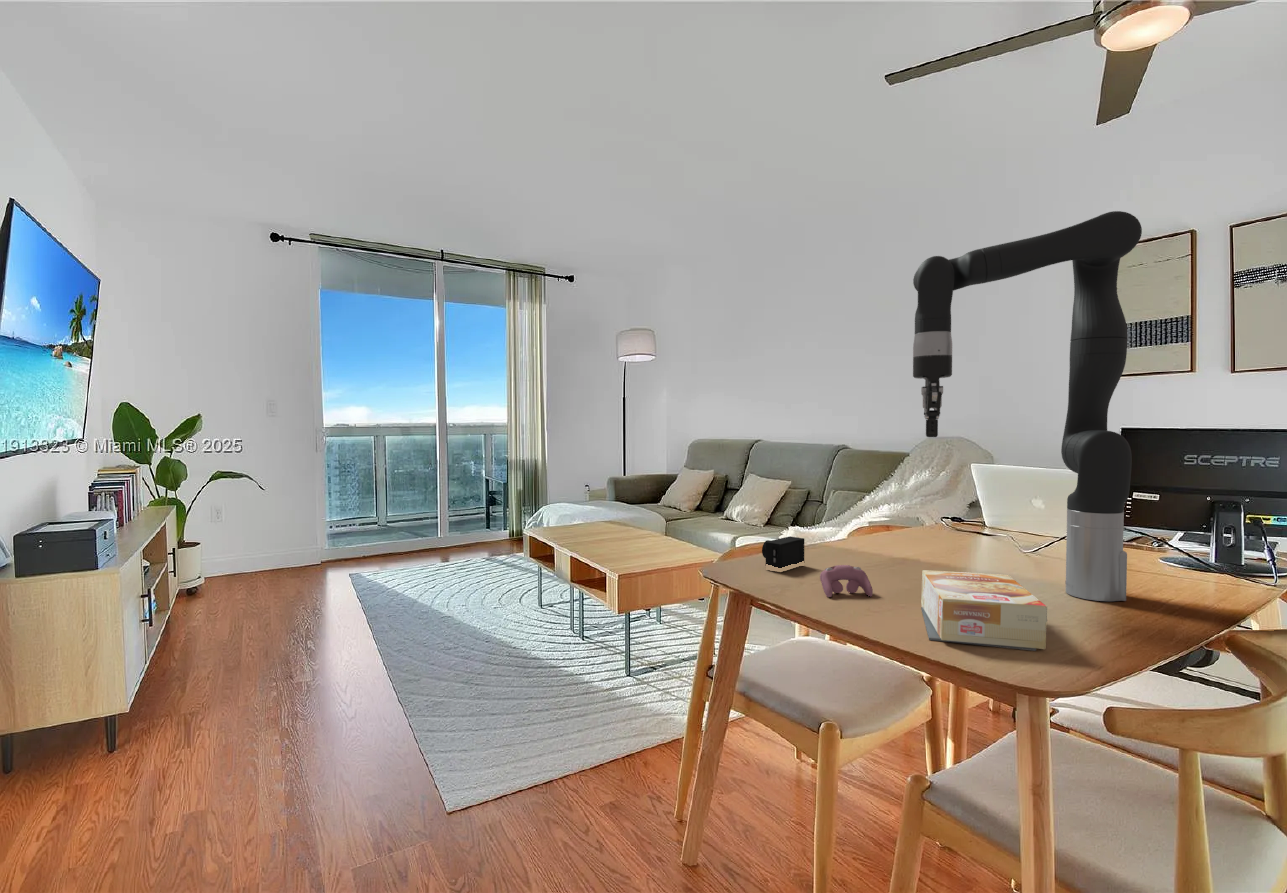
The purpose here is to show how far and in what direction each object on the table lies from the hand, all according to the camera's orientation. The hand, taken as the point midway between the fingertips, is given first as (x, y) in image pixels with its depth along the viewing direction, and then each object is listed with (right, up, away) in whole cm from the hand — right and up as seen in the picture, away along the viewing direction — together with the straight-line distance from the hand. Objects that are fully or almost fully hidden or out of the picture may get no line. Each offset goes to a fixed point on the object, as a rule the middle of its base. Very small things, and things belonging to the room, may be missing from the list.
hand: (931, 436), depth 132 cm
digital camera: (-27, -32, +19) cm, 46 cm away
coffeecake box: (-2, -29, -17) cm, 33 cm away
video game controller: (-20, -33, -4) cm, 38 cm away
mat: (-5, -33, -26) cm, 42 cm away
